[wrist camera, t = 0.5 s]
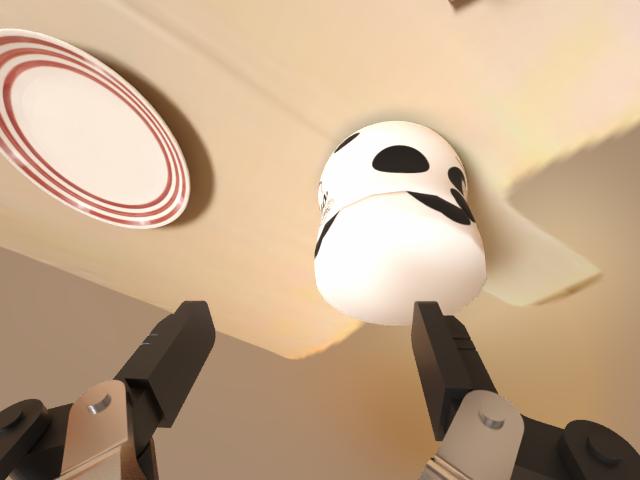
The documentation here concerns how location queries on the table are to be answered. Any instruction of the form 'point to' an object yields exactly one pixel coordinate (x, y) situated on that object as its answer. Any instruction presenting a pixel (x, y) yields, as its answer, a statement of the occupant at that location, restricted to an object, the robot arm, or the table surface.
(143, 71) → the table surface
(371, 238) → the milk container
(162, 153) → the dinner plate
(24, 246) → the table surface
